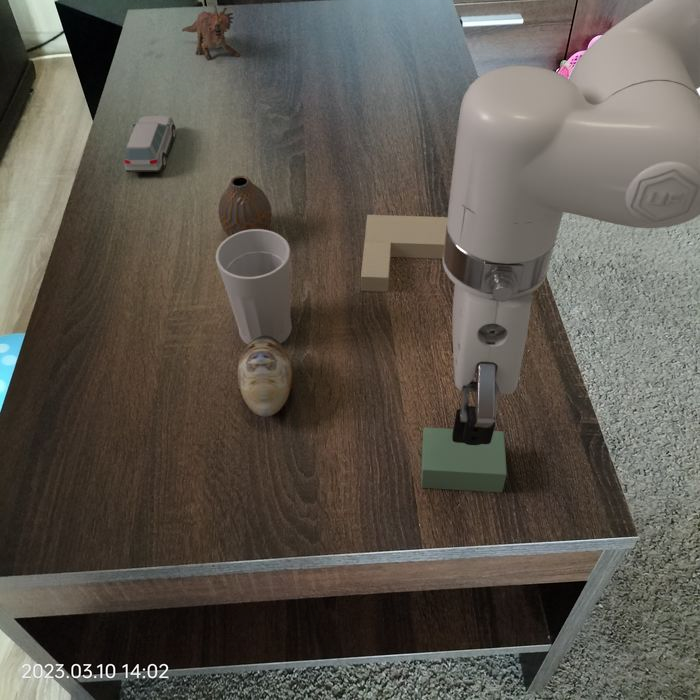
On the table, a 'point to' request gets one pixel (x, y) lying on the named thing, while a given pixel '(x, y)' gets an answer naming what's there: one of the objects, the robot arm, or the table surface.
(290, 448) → the table surface
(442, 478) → the green block
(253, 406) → the seashell
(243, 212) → the vase
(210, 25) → the dinosaur figurine
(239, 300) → the cup
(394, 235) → the beige c-shaped block
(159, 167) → the toy car
